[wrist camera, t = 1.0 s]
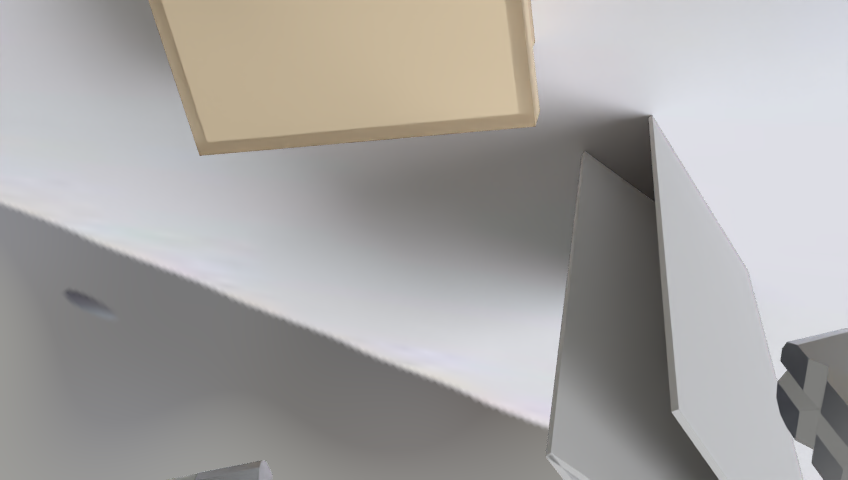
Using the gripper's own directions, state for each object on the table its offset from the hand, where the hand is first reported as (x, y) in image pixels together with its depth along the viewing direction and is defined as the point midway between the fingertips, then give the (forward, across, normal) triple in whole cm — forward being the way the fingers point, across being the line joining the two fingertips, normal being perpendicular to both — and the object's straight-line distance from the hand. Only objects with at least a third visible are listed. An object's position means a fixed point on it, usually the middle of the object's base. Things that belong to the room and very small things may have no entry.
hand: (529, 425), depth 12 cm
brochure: (+37, -18, +23) cm, 47 cm away
